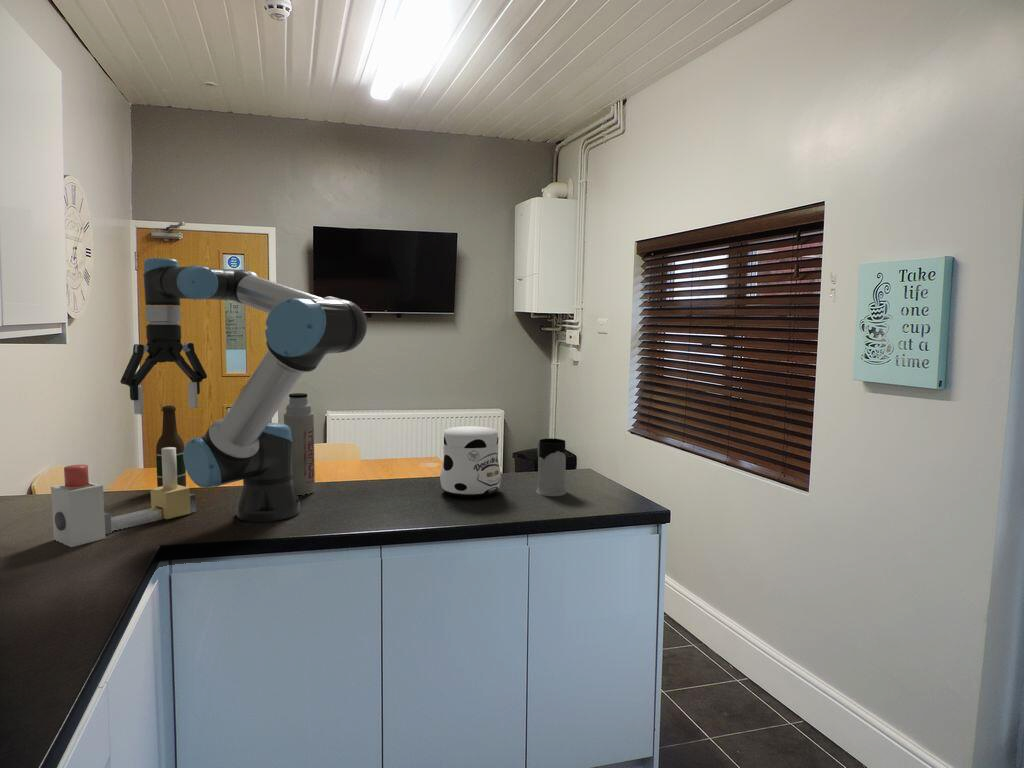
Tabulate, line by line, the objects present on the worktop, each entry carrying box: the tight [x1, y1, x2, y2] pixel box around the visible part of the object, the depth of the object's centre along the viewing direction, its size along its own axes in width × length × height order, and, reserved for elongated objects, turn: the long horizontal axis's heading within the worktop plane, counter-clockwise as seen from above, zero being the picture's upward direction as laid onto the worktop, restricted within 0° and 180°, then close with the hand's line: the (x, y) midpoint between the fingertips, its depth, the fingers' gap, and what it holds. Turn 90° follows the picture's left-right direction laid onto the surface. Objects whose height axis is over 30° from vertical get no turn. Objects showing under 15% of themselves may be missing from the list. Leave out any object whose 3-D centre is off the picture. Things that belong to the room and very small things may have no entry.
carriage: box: [150, 447, 191, 520], centre depth 168 cm, size 7×6×16 cm
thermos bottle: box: [283, 392, 316, 496], centre depth 190 cm, size 8×8×28 cm
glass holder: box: [535, 437, 567, 497], centre depth 198 cm, size 9×14×15 cm, turn 21°
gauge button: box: [63, 464, 90, 487], centre depth 149 cm, size 4×4×4 cm
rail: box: [104, 492, 197, 535], centre depth 164 cm, size 5×22×4 cm, turn 147°
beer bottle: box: [155, 405, 187, 487], centre depth 190 cm, size 8×8×24 cm
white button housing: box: [50, 481, 107, 548], centre depth 150 cm, size 8×7×12 cm
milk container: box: [439, 425, 502, 498], centre depth 193 cm, size 17×17×18 cm
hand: (166, 410), depth 166 cm, fingers open, 13 cm apart
